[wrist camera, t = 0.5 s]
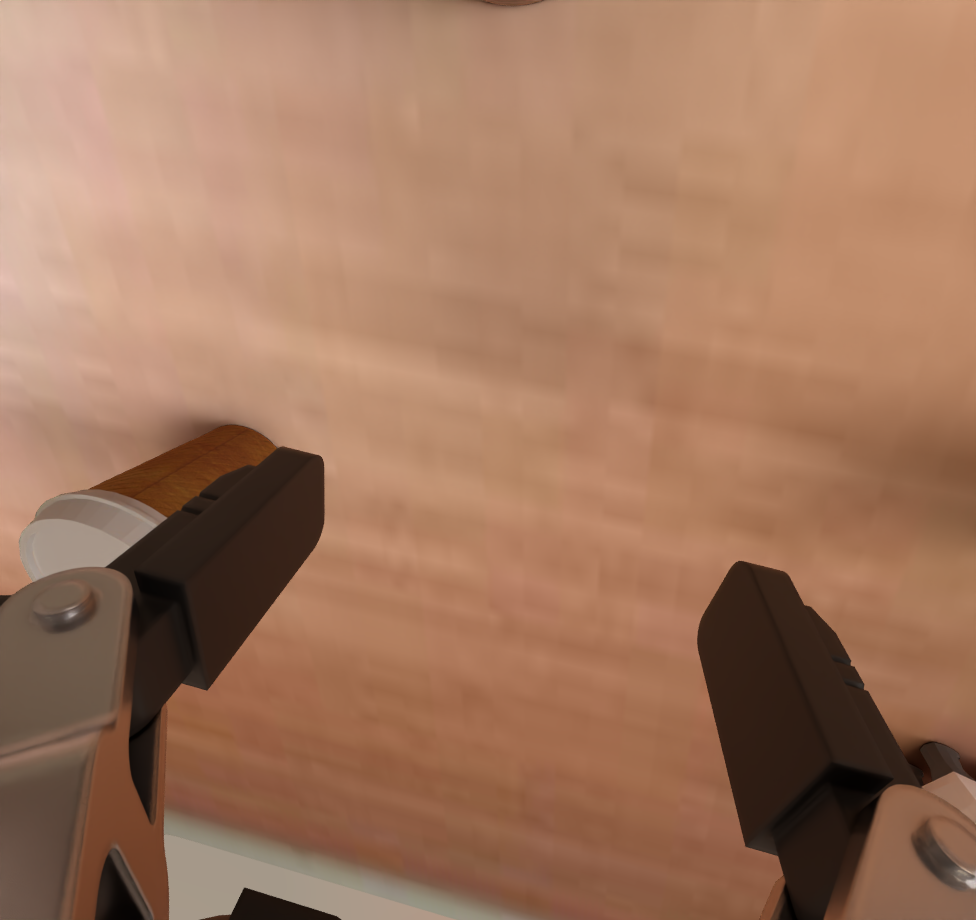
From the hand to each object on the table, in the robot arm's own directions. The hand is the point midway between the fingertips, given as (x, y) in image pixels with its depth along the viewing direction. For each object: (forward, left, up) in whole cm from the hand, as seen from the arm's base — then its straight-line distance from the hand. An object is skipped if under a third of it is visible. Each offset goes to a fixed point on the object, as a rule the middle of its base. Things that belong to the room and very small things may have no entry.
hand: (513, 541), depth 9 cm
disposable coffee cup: (+14, -19, -19) cm, 30 cm away
